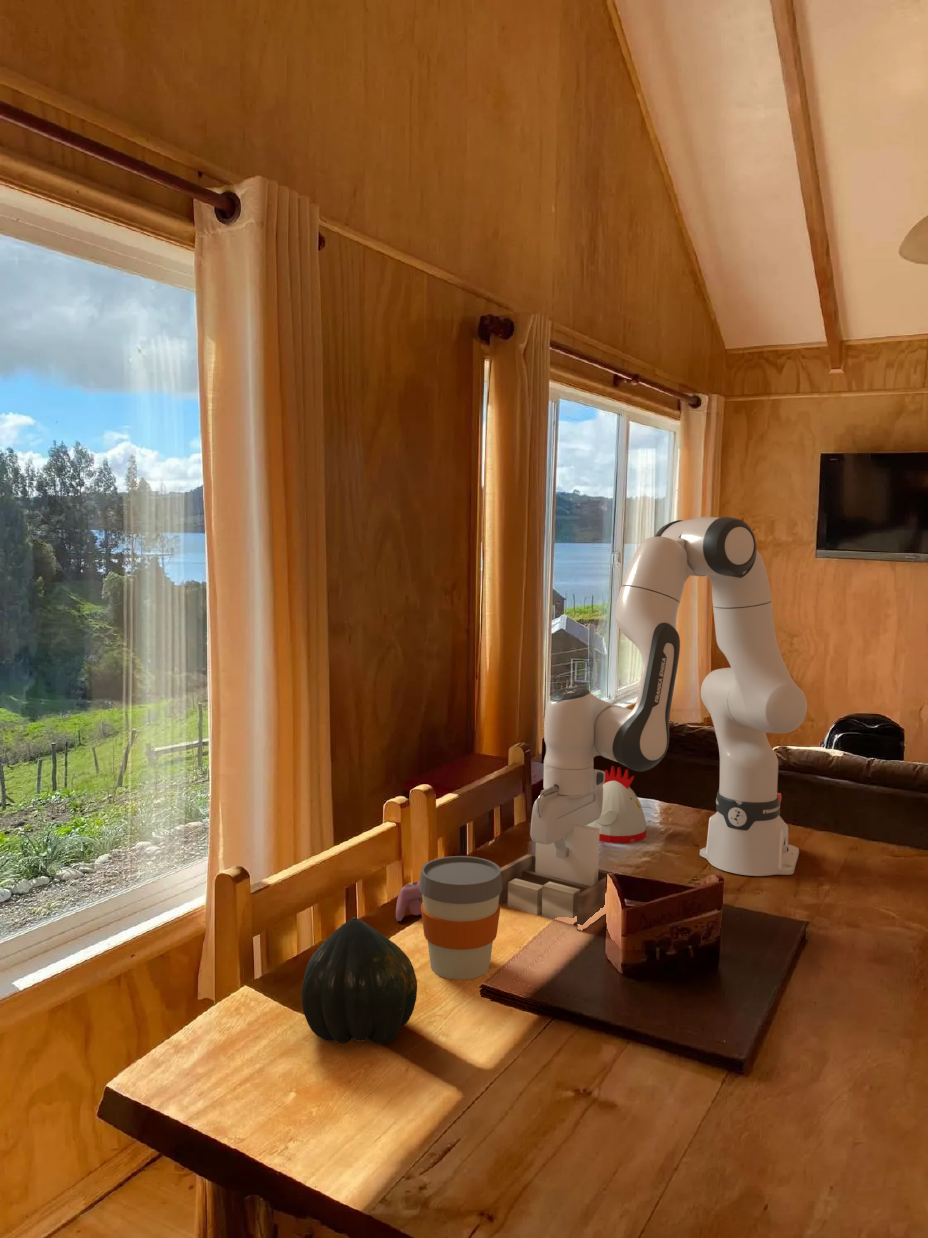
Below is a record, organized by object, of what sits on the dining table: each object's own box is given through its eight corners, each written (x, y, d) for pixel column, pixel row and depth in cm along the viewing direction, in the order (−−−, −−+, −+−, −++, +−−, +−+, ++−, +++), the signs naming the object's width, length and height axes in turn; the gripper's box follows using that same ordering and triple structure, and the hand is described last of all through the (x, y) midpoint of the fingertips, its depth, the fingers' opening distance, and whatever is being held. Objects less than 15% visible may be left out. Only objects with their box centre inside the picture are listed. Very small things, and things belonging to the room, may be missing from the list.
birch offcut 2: (548, 912, 160) (549, 881, 159) (579, 921, 156) (580, 889, 156) (541, 916, 158) (542, 885, 157) (572, 925, 154) (573, 894, 154)
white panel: (539, 890, 170) (540, 816, 169) (597, 905, 163) (599, 828, 162) (534, 892, 168) (536, 818, 167) (593, 908, 162) (595, 831, 160)
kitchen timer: (630, 847, 194) (632, 778, 193) (572, 835, 201) (573, 768, 200) (655, 830, 205) (657, 764, 204) (598, 820, 213) (600, 756, 212)
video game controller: (454, 925, 158) (456, 883, 160) (451, 924, 153) (454, 880, 156) (397, 923, 158) (400, 881, 161) (393, 921, 154) (396, 878, 157)
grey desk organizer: (530, 883, 173) (530, 852, 172) (617, 906, 162) (618, 873, 162) (491, 905, 162) (492, 872, 162) (582, 931, 152) (582, 896, 151)
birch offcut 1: (514, 903, 164) (515, 878, 164) (543, 911, 160) (544, 886, 160) (507, 907, 162) (508, 882, 162) (536, 915, 158) (537, 890, 158)
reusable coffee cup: (513, 957, 142) (515, 863, 141) (481, 993, 131) (482, 891, 130) (441, 941, 148) (442, 850, 146) (403, 974, 136) (404, 876, 135)
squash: (376, 1040, 108) (407, 916, 117) (266, 1021, 114) (304, 903, 122) (414, 1069, 119) (440, 953, 128) (312, 1050, 124) (344, 940, 133)
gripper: (554, 795, 153) (552, 876, 155) (609, 771, 170) (608, 844, 171) (522, 789, 157) (520, 867, 158) (579, 766, 174) (578, 837, 175)
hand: (566, 855), depth 165 cm, fingers closed on white panel, 2 cm apart
